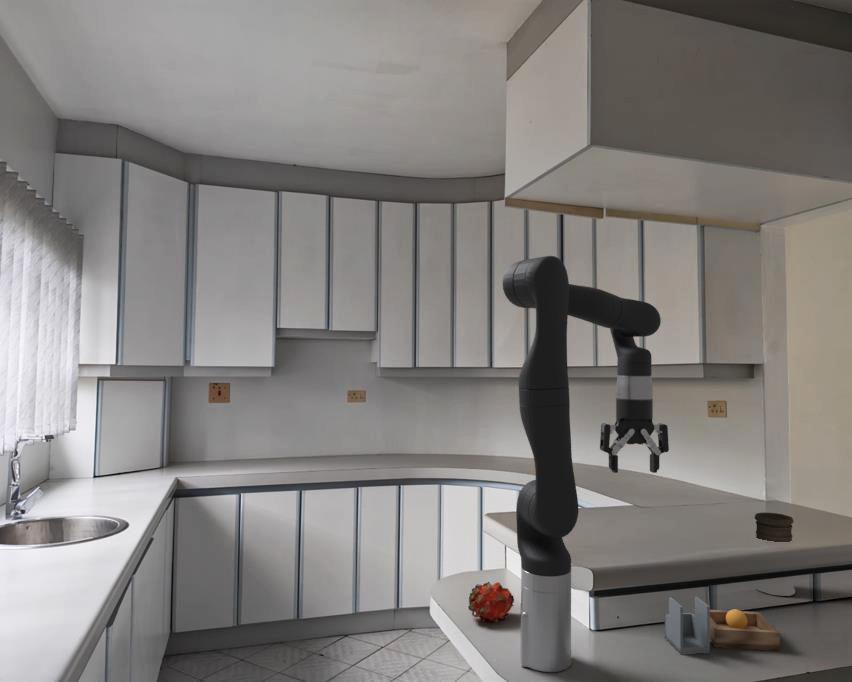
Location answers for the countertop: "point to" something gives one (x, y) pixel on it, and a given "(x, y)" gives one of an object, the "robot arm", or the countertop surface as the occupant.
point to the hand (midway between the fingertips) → (634, 472)
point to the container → (774, 527)
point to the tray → (743, 632)
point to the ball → (736, 619)
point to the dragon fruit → (490, 601)
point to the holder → (688, 627)
